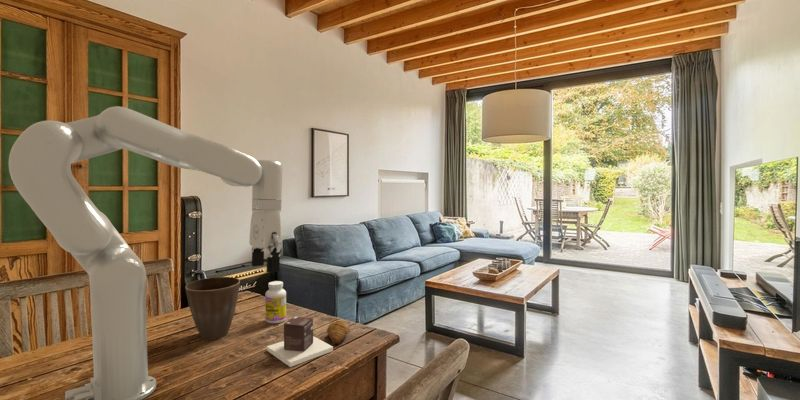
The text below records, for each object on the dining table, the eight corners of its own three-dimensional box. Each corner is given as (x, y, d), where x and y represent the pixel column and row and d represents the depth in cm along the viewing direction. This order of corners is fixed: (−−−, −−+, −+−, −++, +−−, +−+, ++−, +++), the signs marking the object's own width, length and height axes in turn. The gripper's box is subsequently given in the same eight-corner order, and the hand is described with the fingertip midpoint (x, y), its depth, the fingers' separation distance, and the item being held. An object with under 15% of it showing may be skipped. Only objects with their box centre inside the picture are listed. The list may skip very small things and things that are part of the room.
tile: (290, 367, 96) (290, 362, 96) (266, 350, 105) (266, 346, 105) (333, 351, 105) (333, 346, 105) (308, 337, 114) (308, 333, 114)
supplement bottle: (261, 322, 126) (260, 284, 125) (273, 316, 132) (273, 279, 131) (278, 325, 124) (278, 286, 123) (290, 318, 130) (289, 281, 129)
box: (303, 352, 102) (303, 325, 101) (283, 350, 103) (283, 323, 103) (313, 343, 108) (313, 317, 107) (294, 340, 109) (294, 315, 108)
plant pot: (242, 339, 112) (241, 286, 112) (184, 349, 106) (183, 292, 105) (239, 322, 126) (238, 274, 125) (188, 330, 120) (187, 279, 119)
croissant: (329, 328, 122) (329, 312, 121) (350, 327, 122) (350, 312, 122) (323, 346, 108) (323, 329, 108) (347, 346, 109) (347, 329, 108)
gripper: (240, 204, 107) (239, 264, 107) (267, 207, 94) (265, 276, 94) (266, 204, 112) (265, 262, 112) (294, 207, 99) (293, 272, 100)
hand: (265, 268), depth 103 cm, fingers open, 9 cm apart
